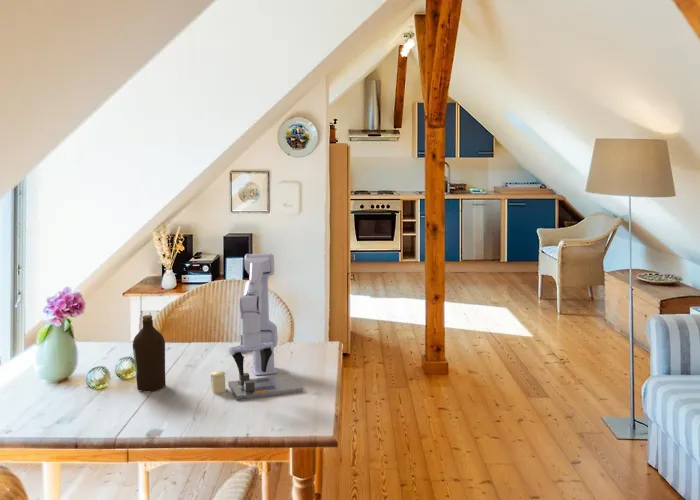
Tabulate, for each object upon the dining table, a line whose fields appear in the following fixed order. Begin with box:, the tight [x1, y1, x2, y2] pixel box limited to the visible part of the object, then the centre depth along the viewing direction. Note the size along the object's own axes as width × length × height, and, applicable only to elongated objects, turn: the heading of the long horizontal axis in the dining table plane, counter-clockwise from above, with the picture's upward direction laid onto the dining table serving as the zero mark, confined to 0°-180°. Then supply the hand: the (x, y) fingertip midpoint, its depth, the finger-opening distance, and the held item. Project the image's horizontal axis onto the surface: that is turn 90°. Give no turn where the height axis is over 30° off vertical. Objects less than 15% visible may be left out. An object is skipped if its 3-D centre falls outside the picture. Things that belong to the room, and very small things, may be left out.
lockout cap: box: [210, 370, 227, 394], centre depth 253 cm, size 5×5×6 cm
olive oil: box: [132, 314, 166, 392], centre depth 256 cm, size 11×11×25 cm
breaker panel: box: [227, 373, 303, 401], centre depth 254 cm, size 15×22×2 cm
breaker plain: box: [238, 372, 251, 384], centre depth 256 cm, size 2×3×3 cm
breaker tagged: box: [244, 380, 255, 392], centre depth 249 cm, size 2×3×3 cm
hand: (252, 373), depth 244 cm, fingers open, 7 cm apart
